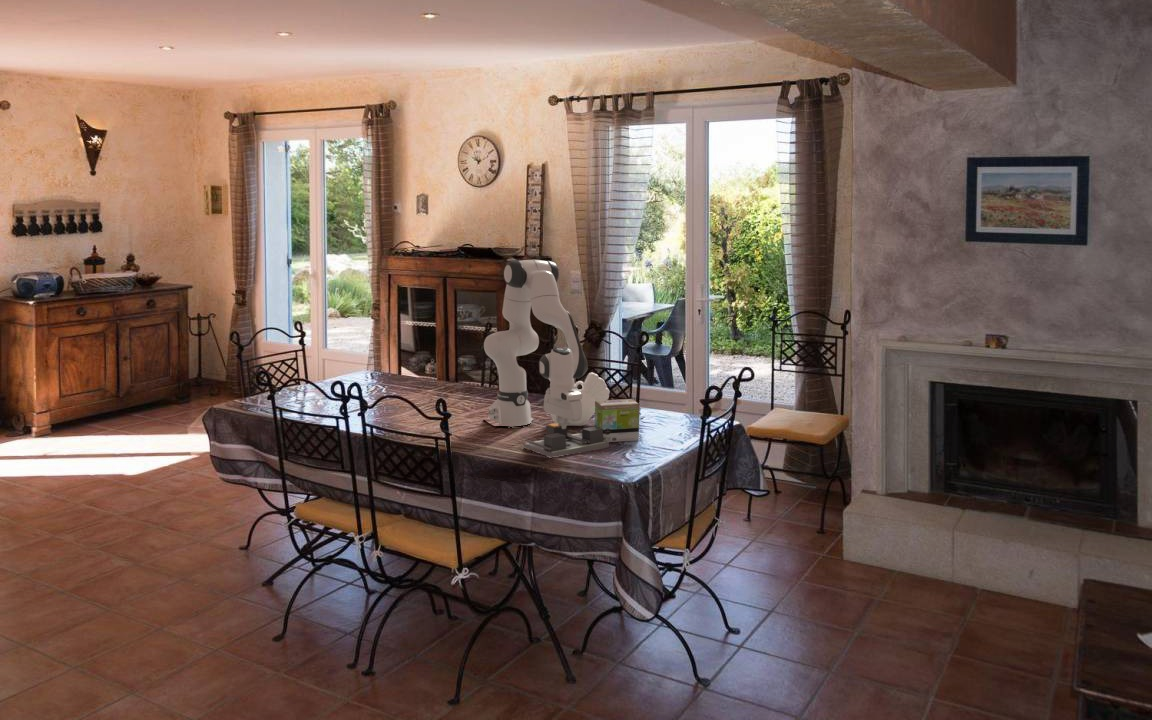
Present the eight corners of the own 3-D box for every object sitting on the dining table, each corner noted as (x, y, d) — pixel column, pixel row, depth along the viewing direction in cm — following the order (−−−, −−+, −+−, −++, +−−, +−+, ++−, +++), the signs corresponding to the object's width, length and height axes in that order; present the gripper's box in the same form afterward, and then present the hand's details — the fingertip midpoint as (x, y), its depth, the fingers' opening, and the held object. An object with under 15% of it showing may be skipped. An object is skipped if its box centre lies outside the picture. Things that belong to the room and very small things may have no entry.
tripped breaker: (540, 438, 376) (540, 423, 375) (559, 435, 381) (559, 420, 380) (554, 443, 369) (553, 428, 368) (573, 439, 374) (572, 424, 373)
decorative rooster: (550, 430, 398) (549, 369, 394) (548, 422, 414) (547, 362, 410) (613, 428, 400) (612, 367, 396) (608, 420, 416) (607, 361, 412)
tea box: (601, 444, 376) (601, 405, 373) (594, 438, 385) (593, 400, 383) (639, 440, 380) (639, 402, 377) (631, 435, 389) (631, 397, 387)
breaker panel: (523, 448, 370) (523, 430, 369) (580, 438, 385) (580, 420, 384) (551, 458, 356) (550, 439, 354) (608, 447, 370) (608, 428, 369)
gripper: (539, 388, 375) (539, 423, 377) (570, 397, 358) (570, 434, 361) (553, 386, 378) (553, 421, 381) (584, 395, 362) (584, 432, 364)
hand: (562, 428), depth 371 cm, fingers closed
